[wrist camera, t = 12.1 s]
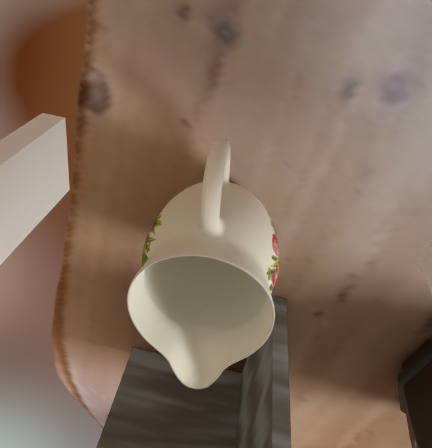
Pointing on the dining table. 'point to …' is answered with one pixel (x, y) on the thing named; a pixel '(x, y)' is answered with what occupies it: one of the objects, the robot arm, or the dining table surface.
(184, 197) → the pitcher
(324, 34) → the dining table surface
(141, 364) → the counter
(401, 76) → the dining table surface
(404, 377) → the black octagonal canister
